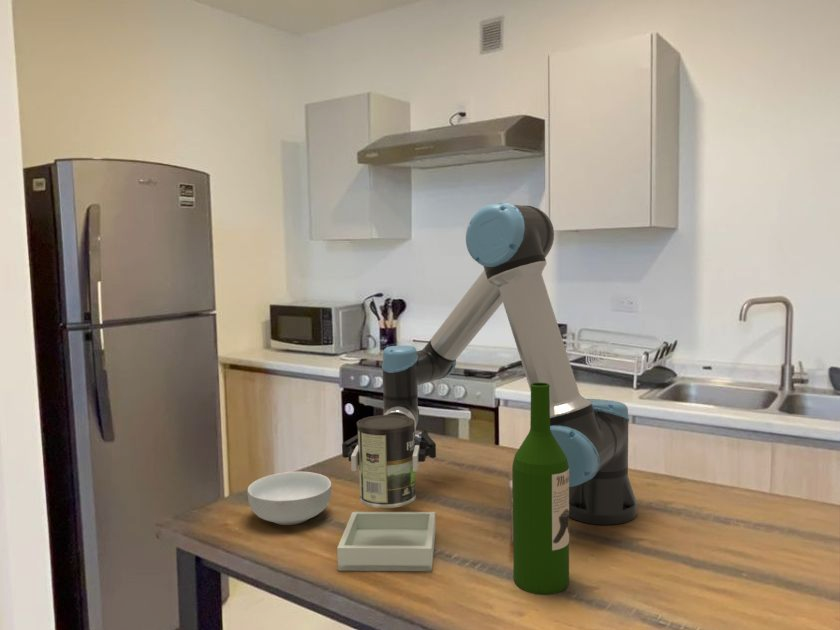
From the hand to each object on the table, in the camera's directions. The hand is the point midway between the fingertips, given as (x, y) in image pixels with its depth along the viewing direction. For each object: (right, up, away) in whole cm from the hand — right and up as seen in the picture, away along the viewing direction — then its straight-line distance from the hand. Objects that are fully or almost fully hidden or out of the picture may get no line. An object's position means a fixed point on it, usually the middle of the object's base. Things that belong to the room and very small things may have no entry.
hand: (384, 463), depth 117 cm
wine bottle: (+26, -18, -7) cm, 32 cm away
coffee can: (0, -7, +5) cm, 9 cm away
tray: (+1, -17, +6) cm, 18 cm away
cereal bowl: (-20, -16, +22) cm, 34 cm away
